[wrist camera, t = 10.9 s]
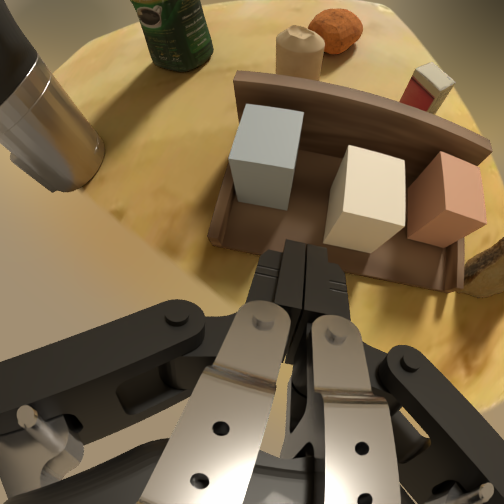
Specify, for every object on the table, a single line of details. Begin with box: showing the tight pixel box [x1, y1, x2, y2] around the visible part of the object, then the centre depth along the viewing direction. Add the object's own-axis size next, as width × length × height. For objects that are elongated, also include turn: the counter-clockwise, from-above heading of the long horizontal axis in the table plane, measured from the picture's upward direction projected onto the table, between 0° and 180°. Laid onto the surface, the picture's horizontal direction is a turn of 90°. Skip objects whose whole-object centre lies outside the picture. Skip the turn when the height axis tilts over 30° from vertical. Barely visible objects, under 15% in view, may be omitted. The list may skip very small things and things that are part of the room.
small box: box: [400, 62, 455, 115], centre depth 29 cm, size 5×4×8 cm
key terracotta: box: [407, 151, 487, 248], centre depth 24 cm, size 6×5×8 cm
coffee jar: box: [130, 0, 214, 72], centre depth 28 cm, size 10×8×19 cm
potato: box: [308, 9, 363, 54], centre depth 34 cm, size 7×13×7 cm, turn 142°
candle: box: [276, 25, 325, 81], centre depth 29 cm, size 6×6×10 cm
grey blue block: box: [228, 104, 304, 211], centre depth 26 cm, size 6×5×8 cm
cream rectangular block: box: [323, 145, 405, 253], centre depth 24 cm, size 6×5×8 cm
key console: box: [207, 70, 492, 293], centre depth 24 cm, size 14×26×10 cm, turn 77°
